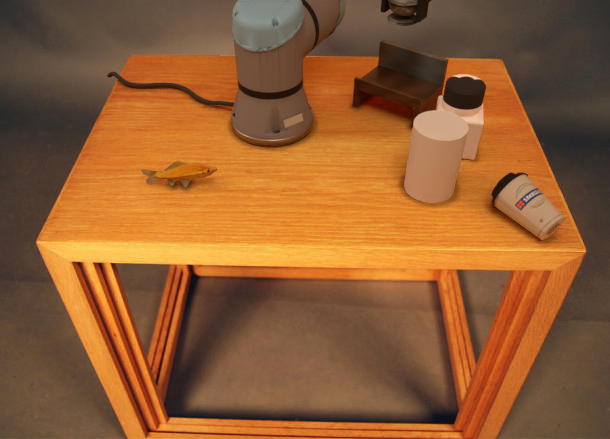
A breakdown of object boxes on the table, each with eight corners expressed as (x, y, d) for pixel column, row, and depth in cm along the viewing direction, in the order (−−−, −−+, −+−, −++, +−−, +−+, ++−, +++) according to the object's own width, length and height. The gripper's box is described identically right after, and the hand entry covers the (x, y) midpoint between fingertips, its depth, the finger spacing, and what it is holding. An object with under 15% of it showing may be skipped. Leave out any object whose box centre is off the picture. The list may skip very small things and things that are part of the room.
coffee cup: (531, 252, 85) (484, 208, 90) (566, 225, 85) (518, 183, 90) (538, 232, 79) (487, 186, 84) (575, 203, 79) (523, 159, 84)
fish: (222, 177, 93) (214, 152, 89) (220, 185, 91) (212, 161, 88) (151, 185, 94) (140, 161, 91) (148, 193, 93) (137, 169, 90)
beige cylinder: (454, 175, 95) (469, 114, 87) (453, 206, 89) (468, 144, 81) (406, 168, 96) (415, 107, 88) (401, 198, 90) (411, 136, 82)
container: (475, 161, 98) (492, 95, 89) (429, 155, 99) (442, 90, 90) (474, 136, 103) (490, 71, 94) (431, 131, 104) (443, 67, 96)
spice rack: (352, 106, 111) (355, 59, 104) (377, 85, 117) (382, 39, 110) (416, 129, 105) (424, 81, 98) (439, 106, 111) (448, 59, 104)
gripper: (351, -151, 81) (344, 8, 97) (473, -134, 73) (444, 37, 89) (378, -159, 86) (367, -6, 101) (496, -144, 77) (464, 20, 93)
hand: (403, 14), depth 95 cm, fingers closed on salt shaker, 6 cm apart
